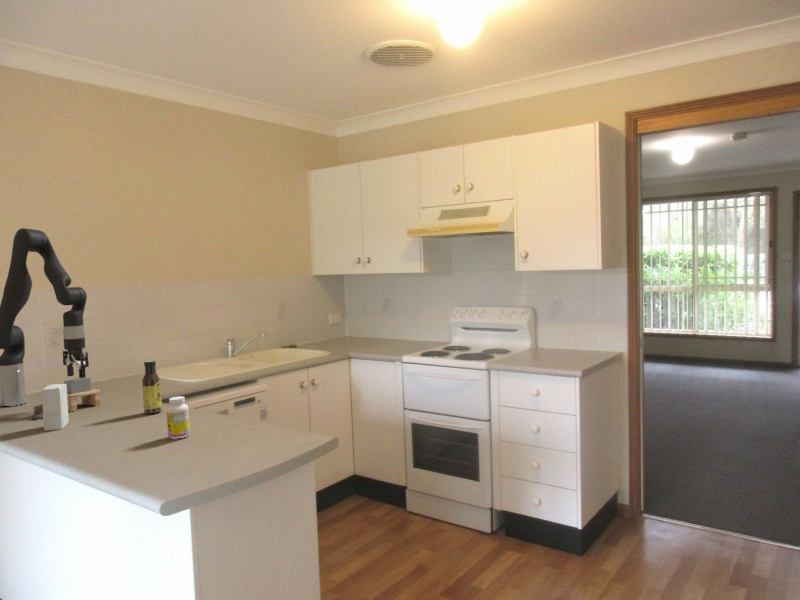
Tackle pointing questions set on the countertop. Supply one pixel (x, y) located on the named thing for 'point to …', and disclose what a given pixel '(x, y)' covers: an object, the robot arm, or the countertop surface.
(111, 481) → the countertop surface
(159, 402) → the sauce bottle
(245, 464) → the countertop surface
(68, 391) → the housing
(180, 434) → the supplement bottle
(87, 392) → the stand
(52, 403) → the skincare box
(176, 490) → the countertop surface
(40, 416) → the rubber puck
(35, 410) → the walnut block
